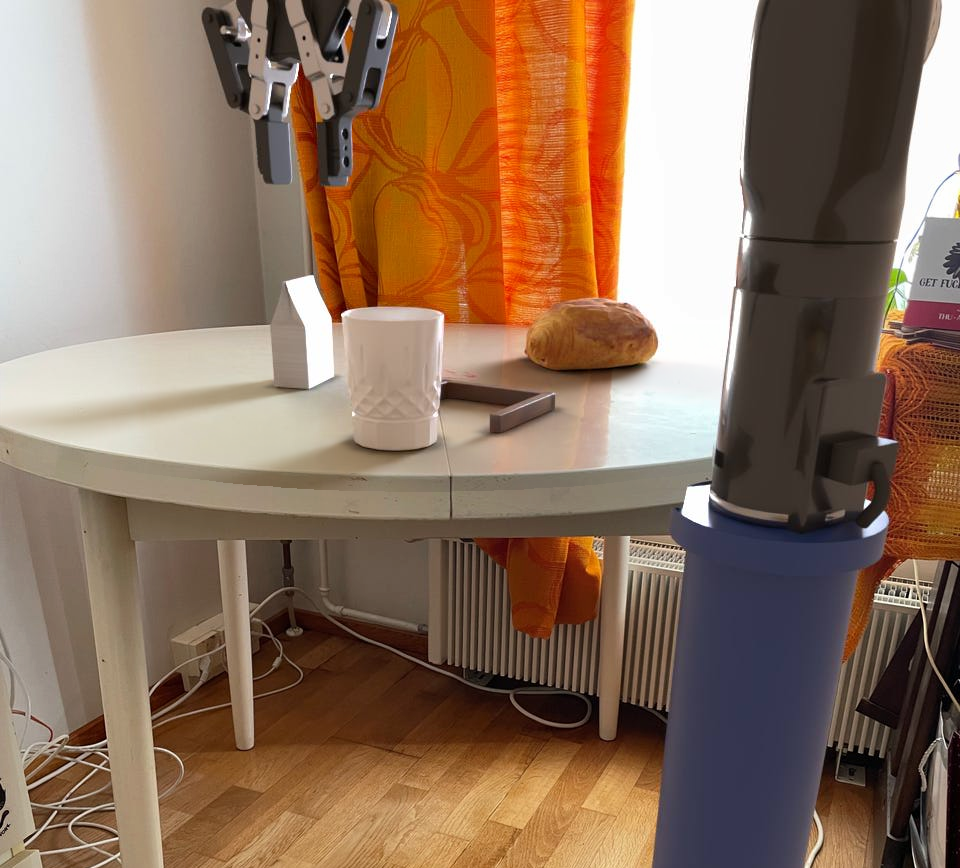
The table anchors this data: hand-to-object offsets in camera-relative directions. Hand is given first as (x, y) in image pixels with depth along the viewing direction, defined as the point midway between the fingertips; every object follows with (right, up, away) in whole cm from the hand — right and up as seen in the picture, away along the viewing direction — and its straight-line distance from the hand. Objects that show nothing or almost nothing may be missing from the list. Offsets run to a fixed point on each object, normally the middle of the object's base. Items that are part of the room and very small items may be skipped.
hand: (305, 183), depth 67 cm
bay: (+10, -9, +26) cm, 29 cm away
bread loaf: (+24, +2, +51) cm, 56 cm away
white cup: (+5, -14, +16) cm, 22 cm away
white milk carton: (-7, -4, +38) cm, 38 cm away
